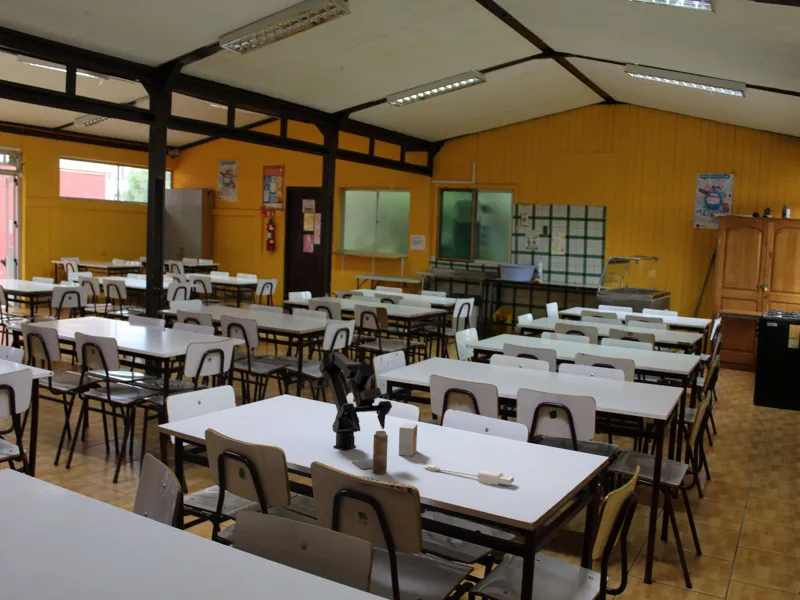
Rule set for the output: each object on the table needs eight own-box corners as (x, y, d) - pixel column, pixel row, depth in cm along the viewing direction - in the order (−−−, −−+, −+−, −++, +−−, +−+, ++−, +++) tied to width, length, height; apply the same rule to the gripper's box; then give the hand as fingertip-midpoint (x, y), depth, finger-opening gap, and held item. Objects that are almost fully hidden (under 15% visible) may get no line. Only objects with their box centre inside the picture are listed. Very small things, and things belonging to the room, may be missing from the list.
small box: (412, 456, 271) (413, 428, 270) (398, 455, 272) (399, 427, 271) (416, 450, 278) (417, 423, 278) (402, 449, 279) (403, 422, 279)
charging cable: (428, 469, 259) (428, 460, 258) (514, 483, 242) (514, 473, 242) (421, 473, 254) (421, 464, 254) (508, 487, 238) (508, 477, 238)
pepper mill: (369, 472, 249) (371, 432, 248) (377, 469, 253) (378, 429, 252) (381, 475, 247) (382, 434, 246) (389, 472, 251) (390, 431, 250)
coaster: (352, 462, 261) (352, 461, 261) (375, 459, 265) (375, 458, 264) (361, 469, 253) (361, 468, 252) (385, 467, 256) (385, 465, 256)
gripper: (342, 381, 256) (353, 419, 246) (390, 378, 264) (403, 415, 255) (334, 399, 263) (344, 436, 254) (381, 395, 271) (392, 432, 262)
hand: (371, 429), depth 256 cm, fingers open, 9 cm apart
